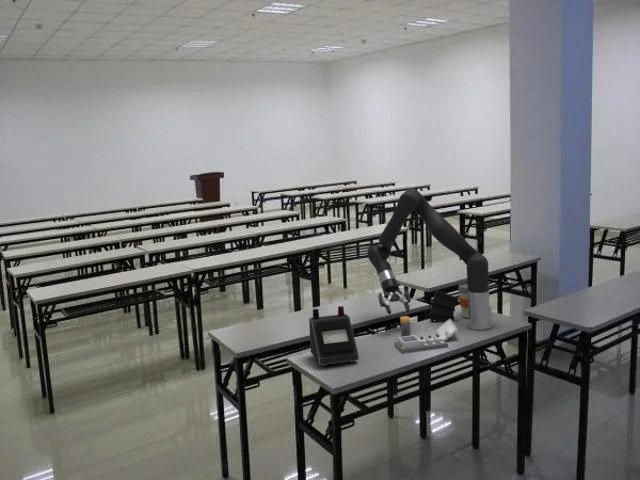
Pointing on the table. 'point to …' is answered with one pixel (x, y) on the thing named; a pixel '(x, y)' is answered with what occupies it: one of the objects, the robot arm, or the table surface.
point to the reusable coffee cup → (464, 299)
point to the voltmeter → (332, 338)
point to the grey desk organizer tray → (419, 343)
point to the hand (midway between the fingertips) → (399, 312)
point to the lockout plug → (405, 326)
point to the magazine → (442, 307)
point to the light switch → (447, 329)
